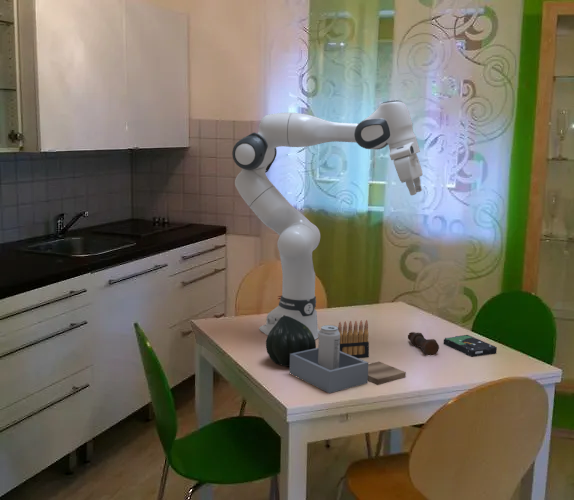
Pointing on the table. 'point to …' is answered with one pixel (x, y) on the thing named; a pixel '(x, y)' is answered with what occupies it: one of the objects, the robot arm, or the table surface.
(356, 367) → the grey rectangular open frame
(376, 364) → the walnut pad
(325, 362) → the energy drink can
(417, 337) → the bolt
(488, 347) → the disk drive
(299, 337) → the squash
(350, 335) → the ammunition clip
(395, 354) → the table surface
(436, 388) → the table surface
